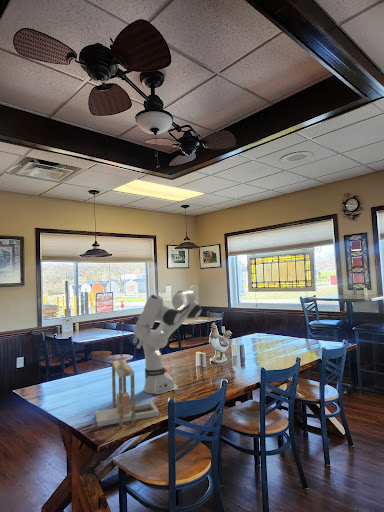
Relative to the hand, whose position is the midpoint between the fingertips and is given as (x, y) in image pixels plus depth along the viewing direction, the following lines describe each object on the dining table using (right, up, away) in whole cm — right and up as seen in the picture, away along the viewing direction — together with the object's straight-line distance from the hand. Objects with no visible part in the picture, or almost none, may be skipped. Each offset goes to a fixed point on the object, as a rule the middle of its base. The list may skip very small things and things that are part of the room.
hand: (136, 345), depth 193 cm
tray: (-4, -36, -7) cm, 37 cm away
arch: (-6, -36, -8) cm, 37 cm away
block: (-6, -34, -8) cm, 35 cm away
